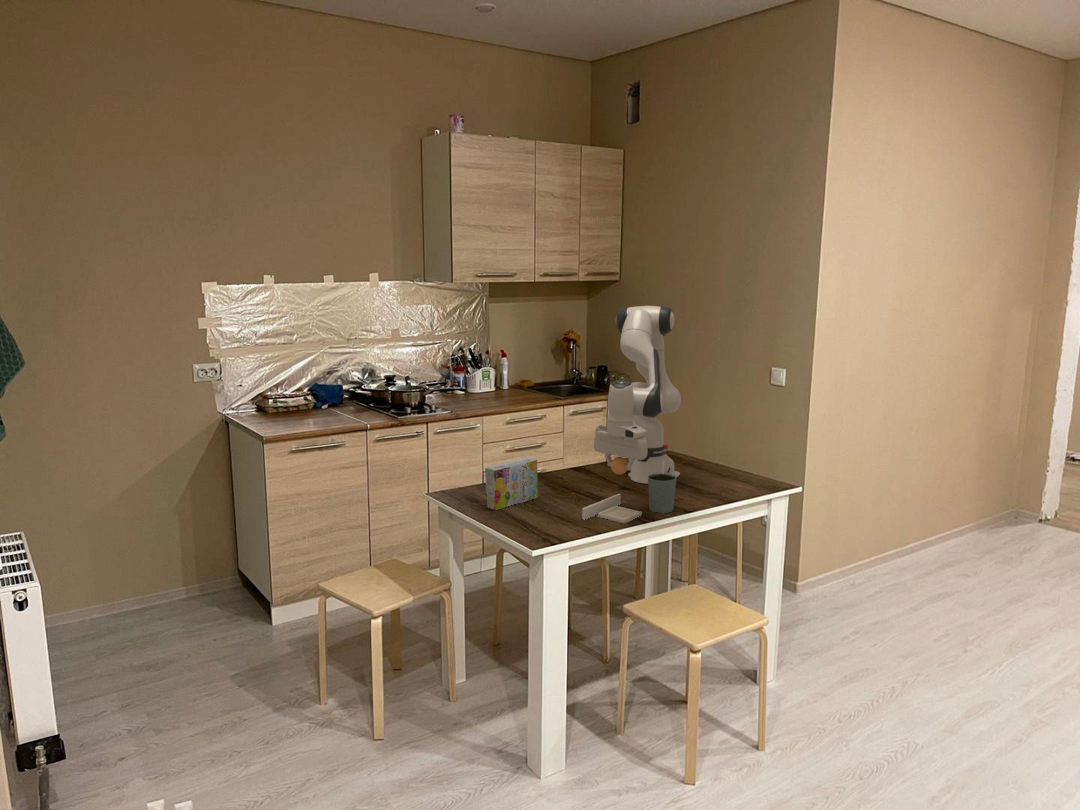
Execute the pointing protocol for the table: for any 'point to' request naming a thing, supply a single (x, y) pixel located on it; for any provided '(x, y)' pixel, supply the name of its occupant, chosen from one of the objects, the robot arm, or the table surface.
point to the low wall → (601, 506)
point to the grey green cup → (661, 492)
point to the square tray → (619, 514)
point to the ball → (619, 465)
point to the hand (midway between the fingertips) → (619, 468)
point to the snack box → (511, 483)
